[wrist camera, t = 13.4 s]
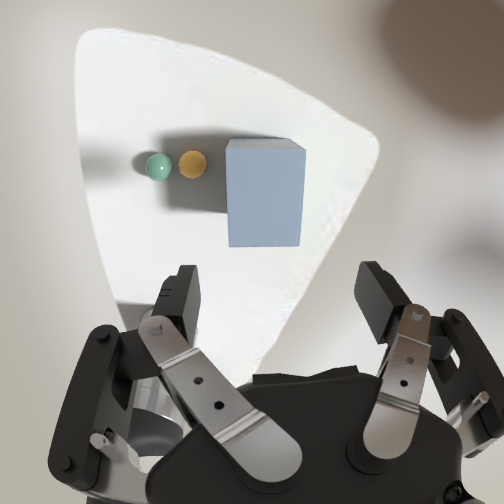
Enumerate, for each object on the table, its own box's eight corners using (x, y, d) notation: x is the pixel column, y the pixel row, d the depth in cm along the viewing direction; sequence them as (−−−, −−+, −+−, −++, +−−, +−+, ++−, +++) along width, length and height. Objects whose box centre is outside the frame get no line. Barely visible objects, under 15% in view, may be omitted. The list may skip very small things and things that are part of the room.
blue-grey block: (230, 138, 27) (225, 149, 20) (290, 139, 27) (305, 149, 21) (232, 214, 32) (228, 247, 25) (287, 213, 32) (299, 246, 25)
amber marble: (209, 173, 29) (205, 180, 27) (182, 175, 29) (176, 182, 27) (207, 147, 28) (204, 152, 25) (180, 149, 28) (174, 153, 25)
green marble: (176, 175, 29) (169, 182, 27) (151, 177, 29) (142, 185, 26) (173, 150, 28) (166, 154, 25) (148, 152, 28) (139, 157, 25)
